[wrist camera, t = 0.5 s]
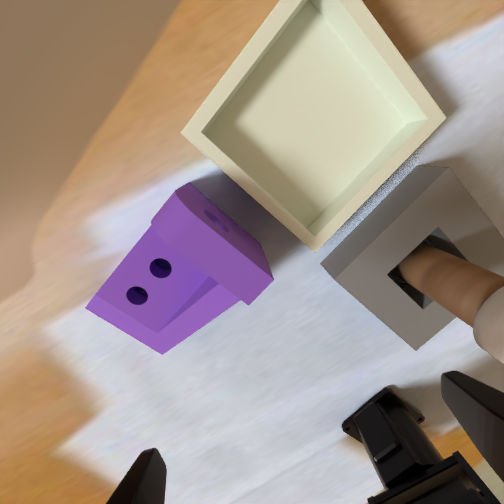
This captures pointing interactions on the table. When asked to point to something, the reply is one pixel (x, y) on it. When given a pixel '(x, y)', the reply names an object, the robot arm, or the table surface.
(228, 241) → the bracket
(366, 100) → the tray
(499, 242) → the holder
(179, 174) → the table surface
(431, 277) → the peg
